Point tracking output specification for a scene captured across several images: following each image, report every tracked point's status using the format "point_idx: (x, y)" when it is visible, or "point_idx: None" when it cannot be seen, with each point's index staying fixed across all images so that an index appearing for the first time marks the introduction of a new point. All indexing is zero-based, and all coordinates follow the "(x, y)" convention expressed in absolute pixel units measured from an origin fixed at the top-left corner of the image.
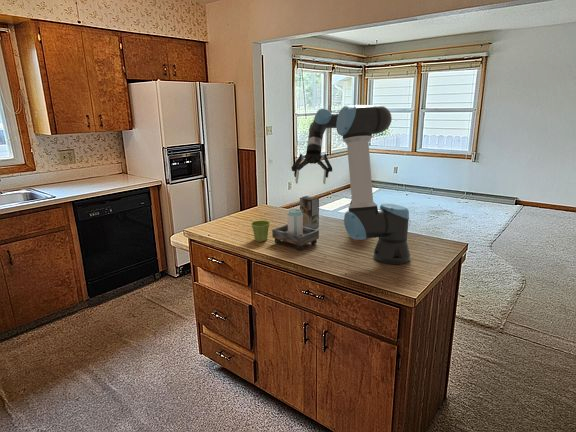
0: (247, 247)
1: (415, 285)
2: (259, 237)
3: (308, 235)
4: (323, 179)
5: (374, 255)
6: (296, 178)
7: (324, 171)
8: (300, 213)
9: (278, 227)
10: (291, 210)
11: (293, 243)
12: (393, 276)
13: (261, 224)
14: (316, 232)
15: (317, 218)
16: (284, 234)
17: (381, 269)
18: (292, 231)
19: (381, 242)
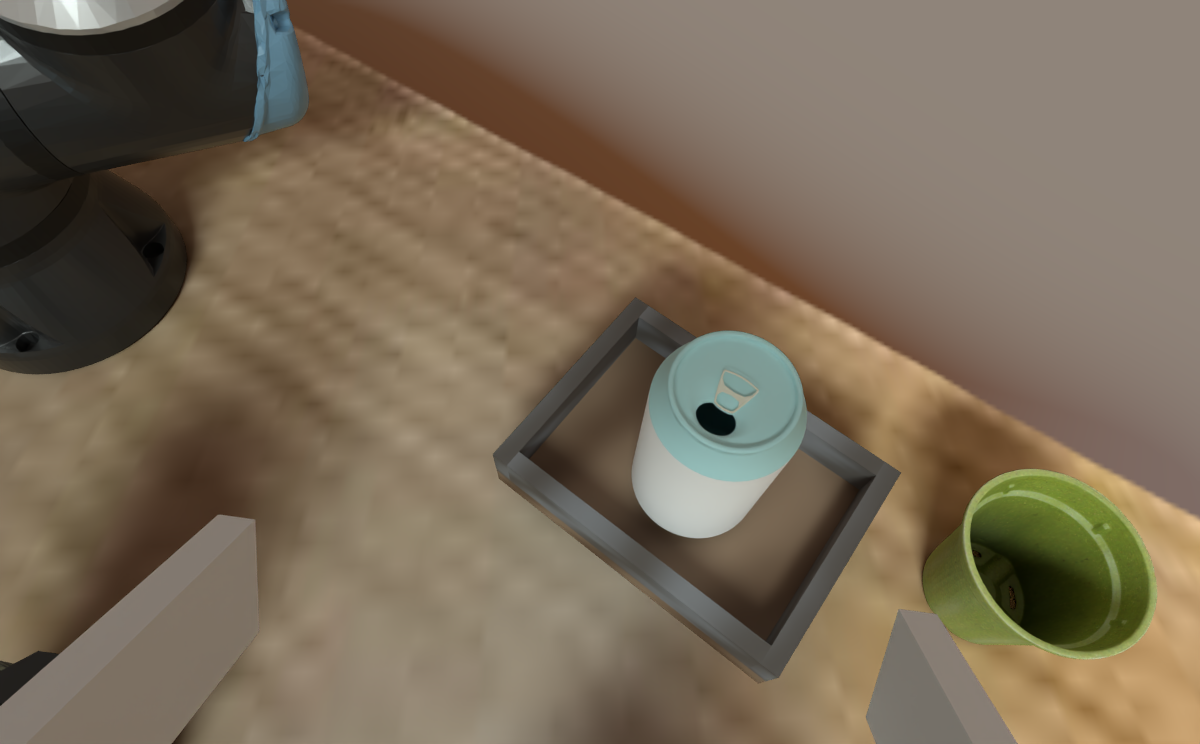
0: (1004, 428)
1: None
2: (982, 525)
3: (582, 359)
4: (232, 536)
5: (178, 258)
6: (936, 648)
7: (15, 740)
8: (671, 362)
9: (863, 531)
10: (780, 422)
11: None
12: None
13: (1061, 645)
14: (515, 432)
15: None
16: None
17: (210, 153)
18: (716, 407)
19: (96, 173)
